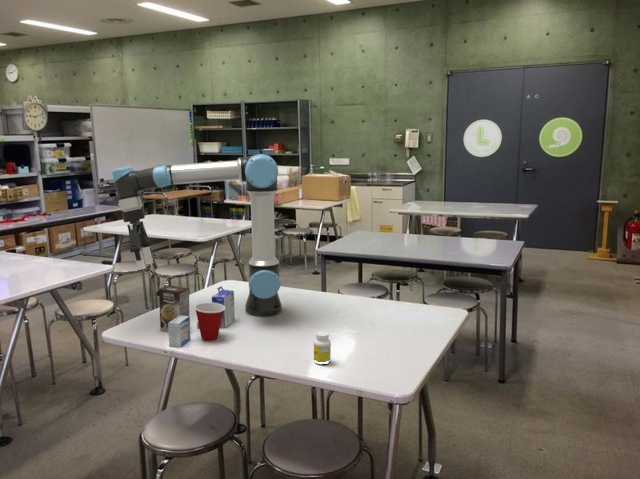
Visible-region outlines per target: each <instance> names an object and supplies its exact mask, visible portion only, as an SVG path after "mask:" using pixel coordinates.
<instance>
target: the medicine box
mask: <svg viewBox="0 0 640 479" xmlns="http://www.w3.org/2000/svg"><path fill="white" fill-rule="evenodd" d="M167 333H168V346H169V347H172V348H173V347H175V348H181V347H183V346H184V345H185V344H186V343H187V342H189V341H190V340H191V318H190V315H189V316H178V317H176V318H175V319H173V320H172V321H170V322H169V323H168V332H167Z"/></svg>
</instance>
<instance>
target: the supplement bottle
mask: <svg viewBox="0 0 640 479" xmlns="http://www.w3.org/2000/svg"><path fill="white" fill-rule="evenodd" d="M329 336H330V334H329V332H327V331H323V330H321V331H317V332H316V334H315V340H314V341H313V361H314V360H316V361H318V362H326V361H329V360H330V361H331V355H332V354H331V353H332V352H331V350H332V349H331V347H332V346H331V345H332V344H331V343H332V342H331V340H330V339H329Z"/></svg>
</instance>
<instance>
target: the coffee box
mask: <svg viewBox="0 0 640 479" xmlns="http://www.w3.org/2000/svg"><path fill="white" fill-rule="evenodd" d="M158 296H159V297H158V298H159V323H160V325H159V326H160V332H165V333H168V323H169V322H170V321H172V320H173V319H175V318H176V317H178V316H189V317H190V288H189V287H183V286H176V285H170V284H169V285H166V286H163V287H160V288H159V289H158Z"/></svg>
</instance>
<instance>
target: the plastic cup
mask: <svg viewBox="0 0 640 479" xmlns="http://www.w3.org/2000/svg"><path fill="white" fill-rule="evenodd" d="M193 308H194V310H195V313H196V317H197V322H198V324H199V329H198V330H199V332H200V333H199V334H200V337H201V340H203V341H205V342H212V341H216V340H218V338H219V334H220V329H221V328H220V325H221V319H222V315H223V311H224V310H225V306H223V305H221V304H218V303H212V302H200V303H197V304H195V305H194V307H193Z"/></svg>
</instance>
